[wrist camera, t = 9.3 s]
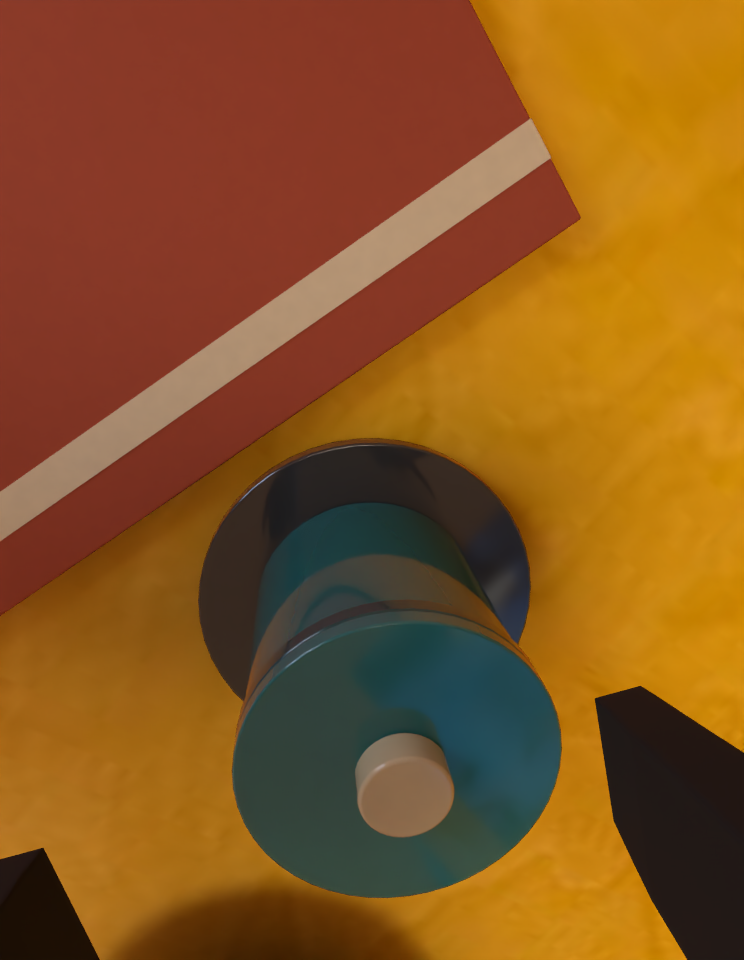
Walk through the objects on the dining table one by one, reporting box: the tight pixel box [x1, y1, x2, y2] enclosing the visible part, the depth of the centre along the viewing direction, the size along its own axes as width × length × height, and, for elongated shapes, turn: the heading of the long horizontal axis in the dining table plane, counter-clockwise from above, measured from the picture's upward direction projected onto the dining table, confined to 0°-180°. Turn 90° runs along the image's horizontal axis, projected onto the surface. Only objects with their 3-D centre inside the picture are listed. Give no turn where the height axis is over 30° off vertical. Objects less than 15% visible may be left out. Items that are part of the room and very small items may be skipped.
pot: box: [232, 502, 562, 898], centre depth 15 cm, size 6×6×7 cm
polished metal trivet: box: [198, 438, 531, 701], centre depth 18 cm, size 8×8×1 cm
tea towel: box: [0, 0, 581, 616], centre depth 15 cm, size 18×13×1 cm
